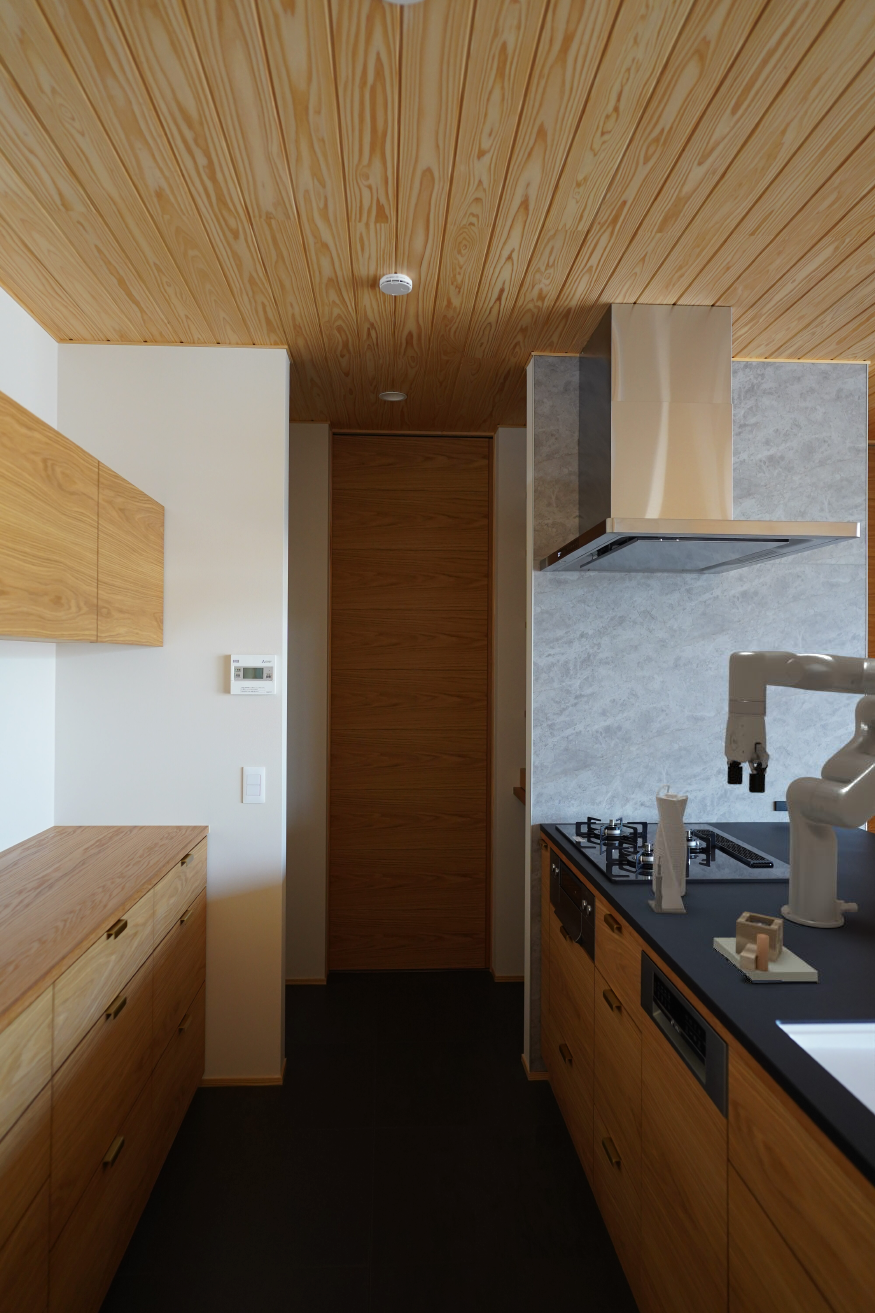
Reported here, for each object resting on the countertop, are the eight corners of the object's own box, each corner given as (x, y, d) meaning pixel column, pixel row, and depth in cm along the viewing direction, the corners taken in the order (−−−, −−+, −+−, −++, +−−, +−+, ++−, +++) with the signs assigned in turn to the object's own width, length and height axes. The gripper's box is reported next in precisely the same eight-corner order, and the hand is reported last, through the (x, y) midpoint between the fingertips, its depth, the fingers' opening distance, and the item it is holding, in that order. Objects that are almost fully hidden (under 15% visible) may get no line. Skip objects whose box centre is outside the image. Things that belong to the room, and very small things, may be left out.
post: (764, 948, 143) (764, 920, 142) (772, 955, 139) (773, 926, 139) (748, 948, 142) (748, 920, 142) (756, 955, 139) (756, 926, 139)
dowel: (764, 966, 134) (765, 934, 134) (770, 971, 132) (771, 938, 132) (754, 967, 134) (754, 934, 134) (759, 971, 132) (760, 938, 132)
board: (771, 947, 148) (771, 937, 148) (817, 983, 132) (817, 972, 132) (713, 948, 147) (713, 938, 147) (752, 983, 131) (753, 972, 131)
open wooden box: (744, 941, 146) (744, 911, 146) (782, 950, 142) (783, 919, 142) (726, 965, 134) (726, 932, 134) (767, 975, 130) (768, 941, 130)
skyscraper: (646, 900, 176) (648, 783, 176) (680, 901, 175) (682, 784, 175) (655, 912, 167) (657, 789, 167) (691, 913, 167) (693, 790, 167)
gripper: (712, 705, 166) (711, 781, 166) (749, 711, 149) (748, 796, 149) (744, 706, 167) (743, 781, 167) (785, 712, 150) (783, 796, 150)
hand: (745, 788), depth 158 cm, fingers open, 9 cm apart
